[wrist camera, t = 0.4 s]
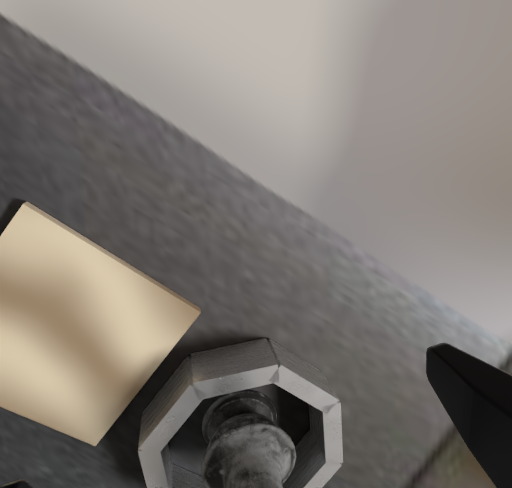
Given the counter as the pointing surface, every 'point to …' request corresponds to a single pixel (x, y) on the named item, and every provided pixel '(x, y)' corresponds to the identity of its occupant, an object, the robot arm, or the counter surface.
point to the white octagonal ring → (232, 380)
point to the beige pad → (77, 327)
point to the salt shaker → (245, 443)
